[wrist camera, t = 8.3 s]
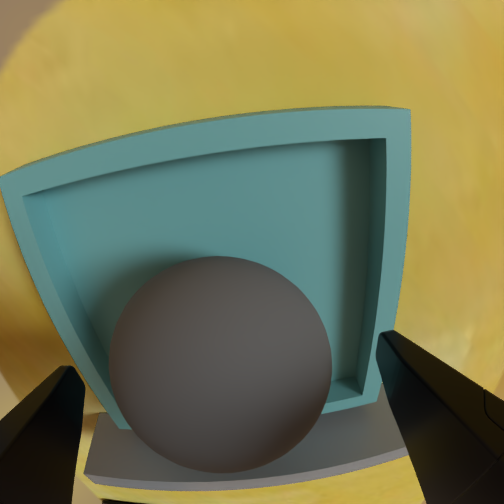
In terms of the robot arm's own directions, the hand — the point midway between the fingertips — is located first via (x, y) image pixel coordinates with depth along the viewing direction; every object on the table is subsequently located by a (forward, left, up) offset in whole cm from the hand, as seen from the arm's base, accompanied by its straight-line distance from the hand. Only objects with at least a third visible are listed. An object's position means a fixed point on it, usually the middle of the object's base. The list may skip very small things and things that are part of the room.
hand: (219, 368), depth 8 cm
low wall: (+1, -7, -4) cm, 8 cm away
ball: (0, 0, 0) cm, 0 cm away
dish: (0, 0, -4) cm, 4 cm away
